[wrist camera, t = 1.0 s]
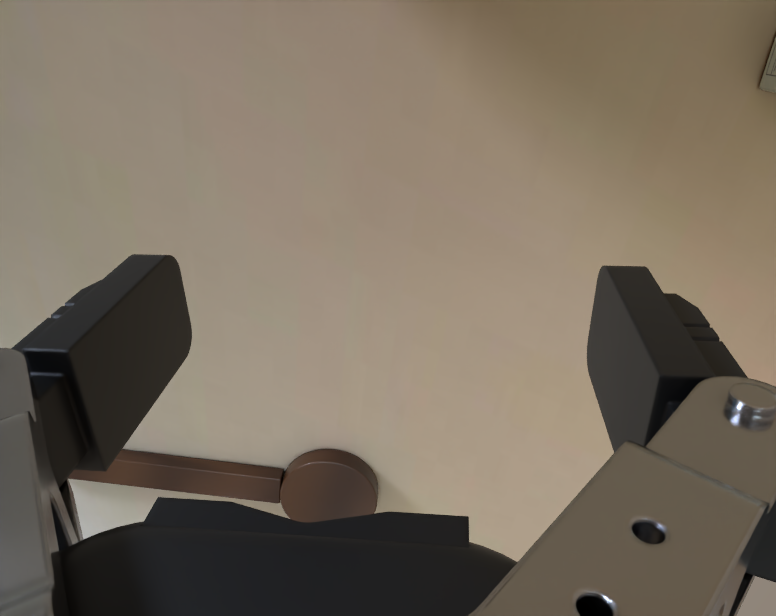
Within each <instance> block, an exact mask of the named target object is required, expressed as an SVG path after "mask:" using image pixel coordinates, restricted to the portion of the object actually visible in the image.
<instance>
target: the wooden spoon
mask: <svg viewBox="0 0 776 616" xmlns="http://www.w3.org/2000/svg"><path fill="white" fill-rule="evenodd" d="M283 474H284V470H283V469H279V468H271V467H263V466H254V465H246V464H238V463H230V462H221V461H213V460H205V459H196V458H188V457H180V456H171V455H163V454H155V453H146V452H138V451H130V450H121V451H120V452H119V454H118V455H117V456H116V458H115V459H114V461H113V462H112V464H111V465H110V466H109V468H108V469H107V471H106V472H105V471H88V470H73V472H72V473H71V474H70V475H69V477H68V478H69V479H78V480H86V481H95V482H103V483H111V484H120V485H128V486H137V487H145V488H153V489H162V490H170V491H179V492H187V493H196V494H204V495H212V496H221V497H229V498H238V499H246V500H254V501H263V502H271V503H280V500H281V504H282V507H283V509H284V511H285V513H286V514H287V515H288V517H289V518H290V519H291V520H295V521H299V522H306V523H309V522H319V521H326V520H333V519H340V518H347V517H354V516H362V515H369V514H374V512H375V510H376V507H377V497H378V483H377V480H376V477H375V475H374V473H373V472H372V470H371V469H370V467H369V466H368V465H367V464H366V463H365V462H363V461H362V460H361V459H359V458H358V457H356V456H354V455H352V454H350V453H347V452H344V451H340V450H333V449H321V450H315V451H311V452H308V453H305V454H303V455H301V456H300V457H298V458H297V459H295V460H294V461H293V462H292V463H291V464H290V465H289V467H288V468H287V470H286V472H285V475H284V478H283Z"/></svg>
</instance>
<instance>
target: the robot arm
mask: <svg viewBox="0 0 776 616" xmlns="http://www.w3.org/2000/svg"><path fill="white" fill-rule="evenodd" d="M191 340H192V328H191V322H190V317H189V312H188V307H187V302H186V297H185V292H184V287H183V282H182V277H181V272H180V268H179V265H178V262H177V260H176V259H175V258H174V257H173V256H171V255H136V254H134V255H131V256H129V257H128V258H127V259H126V260H125V261H124V262H122V263H121V264H120V265H119V266H118V267H117V268H115V269H114V270H113V271H112V272H111V273H110V274H108V275H107V276H106V277H105V278H104V279H103V280H100V281H98V282H96V283H94V284H92V285H90V286H88V287H86V288H84V289H82V290H80V291H79V292H78V293H77V294H76V295H74V296H73V297H72V298H71V299H70V300H68V301H67V302H66V303H65V306H61V307H60V308H59V309H58V310H57V311H55V312H54V313H53V314H52V315H51V318H47V319H46V320H45V321H44V322H42V323H41V324H40V325H39V326H38V327H36V328H35V329H34V330H33V331H32V332H30V333H29V334H28V335H27V336H26V337H25V338H23V339H22V340H21V341H20V342H19V343H17V344H16V345H15V346H14V347H13V348H11V349H8V348H0V616H736V615H737V613H738V611H739V609H740V607H741V605H742V603H743V601H744V599H745V597H746V595H747V592H748V590H749V588H750V586H751V584H752V582H753V580H754V577H755V576H757V577H761V578H764V579H767V580H770V581H773V582H776V387H775V386H772V385H770V384H767V383H764V382H761V381H758V380H754V379H749V378H748V377H747V376H746V375H745V373H744V372H743V370H742V369H741V368H740V366H739V365H738V363H737V362H736V361H735V359H734V358H733V356H732V355H731V354H730V352H729V351H728V349H727V348H726V346H725V345H724V344H723V342H721V341H719V337H718V335H717V334H716V332H715V331H714V330H713V328H710V324H709V323H708V321H707V320H706V318H705V317H704V315H703V314H702V313H701V311H700V310H699V308H697V307H696V306H694V305H693V304H691V303H690V302H688V301H686V300H685V299H683V298H682V297H680V296H679V295H677V294H664V293H663V292H662V290H661V289H660V287H659V285H658V284H657V282H656V281H655V279H654V278H653V276H652V274H651V273H650V271H649V270H648V268H647V267H640V266H602V267H601V269H600V271H599V274H598V279H597V285H596V291H595V298H594V304H593V311H592V317H591V324H590V330H589V336H588V344H587V365H588V372H589V376H590V379H591V382H592V385H593V388H594V391H595V394H596V397H597V400H598V404H599V407H600V410H601V413H602V416H603V419H604V422H605V425H606V428H607V432H608V435H609V438H610V441H611V444H612V447H613V450H614V454H613V455H612V456H611V457H610V459H609V460H608V461H607V462H606V463H605V464H604V465H603V466H602V468H601V469H600V470H599V471H598V472H597V473H596V474H595V475H594V477H593V478H592V479H591V480H590V481H589V482H588V483H587V485H586V486H585V487H584V488H583V489H582V490H581V491H580V492H579V494H578V495H577V496H576V497H575V498H574V499H573V500H572V501H571V503H570V504H569V505H568V506H567V507H566V508H565V509H564V511H563V512H562V513H561V514H560V515H559V516H558V517H557V518H556V520H555V521H554V522H553V523H552V524H551V525H550V526H549V527H548V529H547V530H546V531H545V532H544V533H543V534H542V535H541V537H540V538H539V539H538V540H537V541H536V542H535V543H534V544H533V546H532V547H531V548H530V549H529V550H528V551H527V552H526V553H525V555H524V556H523V557H522V558H521V559H520V560H519V561H518V562H516V561H514V560H512V559H511V558H509V557H507V556H505V555H503V554H501V553H498V552H496V551H494V550H491V549H489V548H486V547H484V546H481V545H477V544H474V543H471V542H469V518H468V517H467V516H451V515H435V514H419V513H403V512H383V513H376V514H369V515H362V516H354V517H347V518H340V519H333V520H326V521H319V522H309V523H306V522H299V521H295V520H291V519H288V518H285V517H281V516H278V515H274V514H271V513H268V512H264V511H261V510H257V509H254V508H251V507H247V506H244V505H240V504H237V503H234V502H226V501H210V500H194V499H178V498H162V497H158V498H157V500H156V502H155V503H154V505H153V507H152V509H151V510H150V512H149V514H148V516H147V517H146V519H145V521H144V522H138V523H133V524H129V525H125V526H120V527H117V528H114V529H110V530H107V531H104V532H101V533H98V534H96V535H93V536H91V537H89V538H86V539H84V540H83V535H82V531H81V526H80V522H79V517H78V513H77V508H76V504H75V499H74V495H73V491H72V488H71V486H70V483H69V480H68V477H69V475H70V474H71V473H72V472H73V470H88V471H105V472H106V471H107V469H108V468H109V466H110V465H111V464H112V462H113V461H114V459H115V458H116V456H117V455H118V454H119V452H120V451H121V449H122V448H123V447H124V445H125V444H126V442H127V441H128V440H129V438H130V437H131V435H132V434H133V432H134V431H135V430H136V428H137V427H138V425H139V424H140V423H141V421H142V420H143V418H144V417H145V415H146V414H147V413H148V411H149V410H150V408H151V407H152V406H153V404H154V403H155V401H156V400H157V399H158V397H159V396H160V394H161V393H162V391H163V390H164V389H165V387H166V386H167V384H168V383H169V382H170V380H171V379H172V377H173V376H174V374H175V373H176V372H177V370H178V369H179V367H180V366H181V365H182V363H183V362H184V360H185V359H186V357H187V356H188V353H189V350H190V346H191Z"/></svg>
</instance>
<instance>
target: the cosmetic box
mask: <svg viewBox="0 0 776 616" xmlns="http://www.w3.org/2000/svg"><path fill="white" fill-rule="evenodd" d="M759 87H760V89H761V90H765V91H769V92H774V93H776V38H775V41H774V44H773V46H772V49H771V52H770V55H769V58H768V61H767V65H766V68H765V70H764V74H763V77H762V80H761V83H760V86H759Z"/></svg>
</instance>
